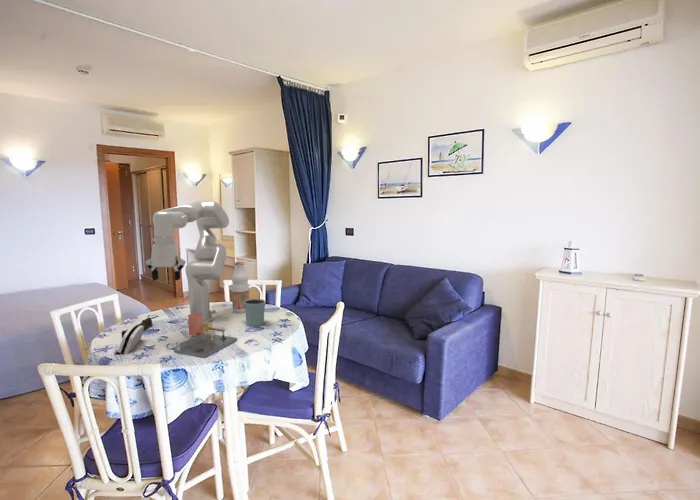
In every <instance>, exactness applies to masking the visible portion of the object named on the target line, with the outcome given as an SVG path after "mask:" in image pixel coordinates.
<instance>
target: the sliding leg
mask: <svg viewBox="0 0 700 500" xmlns="http://www.w3.org/2000/svg"><path fill="white" fill-rule="evenodd" d="M187 320H188V323H187V324H188V335H189V337H191V336H196V337H197V336H199V335H203V336H210V337H211V344H213V337H214V334H207V333H203V318H202V313H192V314H190V313H189V314H188V315H187Z"/></svg>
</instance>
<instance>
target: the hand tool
mask: <svg viewBox="0 0 700 500" xmlns="http://www.w3.org/2000/svg"><path fill="white" fill-rule="evenodd" d="M137 325H139V326H144V330H149V329H150V328H151V327H152V326H153V320H152V318H151V317H147V318H144V319H143V320H142V321H141V322H140V323H138V324H137ZM128 329H129V328H128ZM128 329H126V330H122V331H121V337H122V338H123V336H124V334H125V333H126V332H127V330H128Z"/></svg>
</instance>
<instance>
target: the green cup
mask: <svg viewBox="0 0 700 500" xmlns="http://www.w3.org/2000/svg"><path fill="white" fill-rule="evenodd" d="M244 304H245V312H244V313H245V320H246V321H245V326H246V327H248V326H249V328H258V327H261V325H262V326H264V322H265V311H266V310H265V307H266V300H264V299H261V298H251V299H250V298H249V300H246V301H245V302H244Z"/></svg>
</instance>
